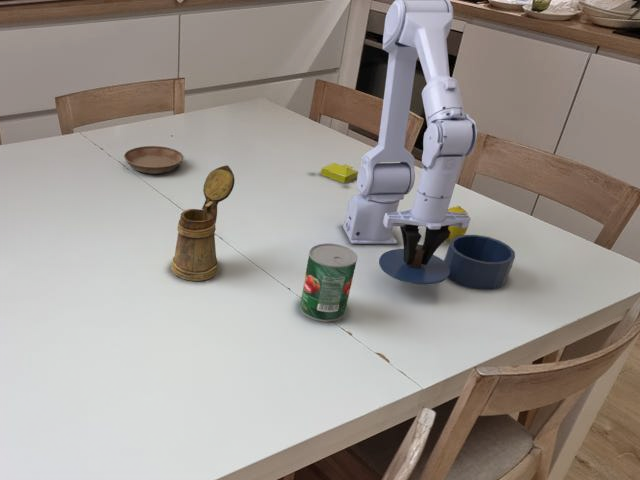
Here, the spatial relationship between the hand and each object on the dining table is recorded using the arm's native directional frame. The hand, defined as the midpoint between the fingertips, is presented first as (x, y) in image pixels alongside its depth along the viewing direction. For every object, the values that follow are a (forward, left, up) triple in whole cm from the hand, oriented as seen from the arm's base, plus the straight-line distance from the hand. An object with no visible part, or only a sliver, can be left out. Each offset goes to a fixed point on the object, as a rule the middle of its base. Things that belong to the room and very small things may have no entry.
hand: (414, 262), depth 122 cm
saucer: (-46, +58, -5) cm, 74 cm away
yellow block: (0, +52, -5) cm, 52 cm away
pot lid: (0, 0, -1) cm, 1 cm away
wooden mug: (-38, +8, -5) cm, 39 cm away
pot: (+14, +4, -5) cm, 15 cm away
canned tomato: (-18, -8, -5) cm, 20 cm away
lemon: (+14, +17, -5) cm, 23 cm away
